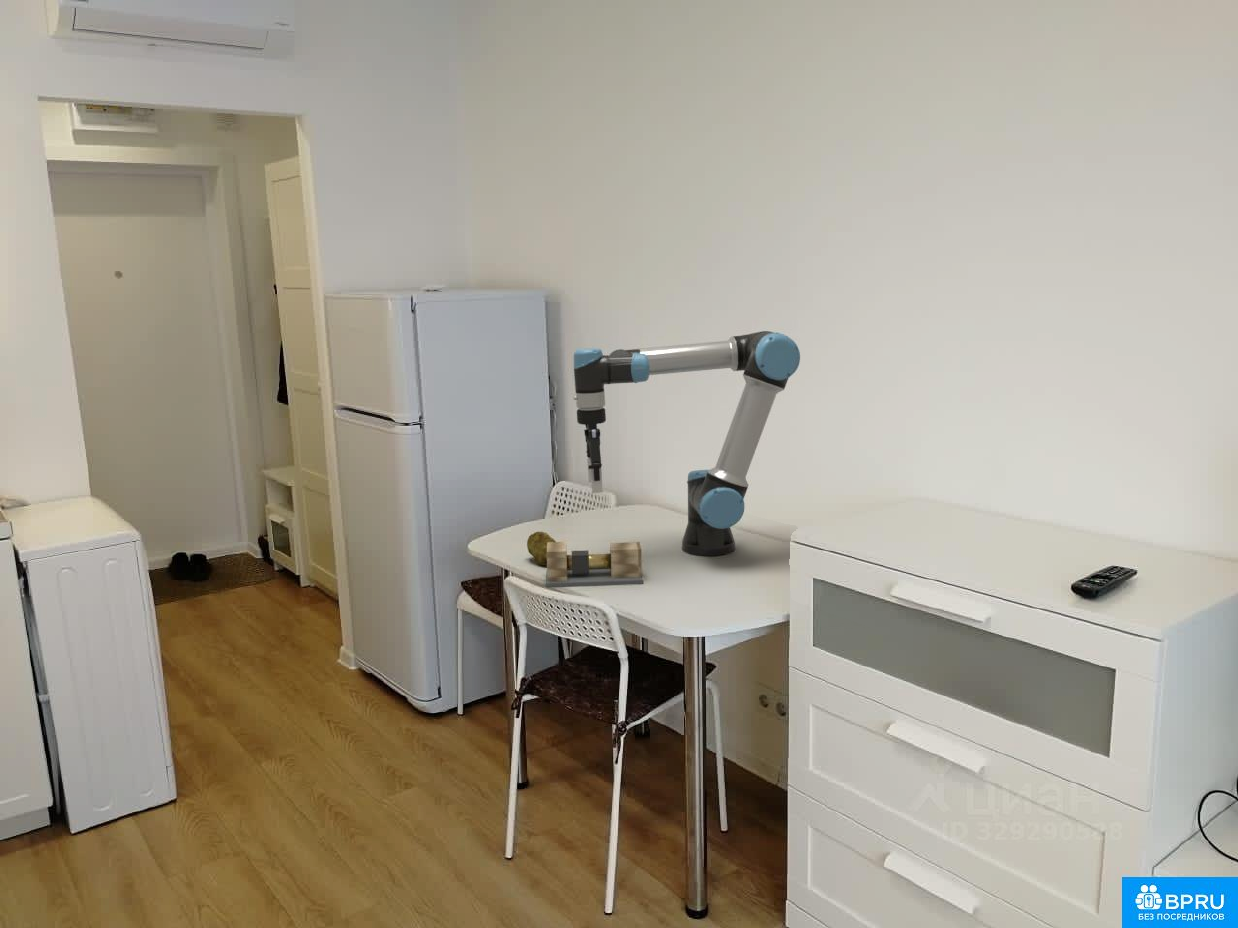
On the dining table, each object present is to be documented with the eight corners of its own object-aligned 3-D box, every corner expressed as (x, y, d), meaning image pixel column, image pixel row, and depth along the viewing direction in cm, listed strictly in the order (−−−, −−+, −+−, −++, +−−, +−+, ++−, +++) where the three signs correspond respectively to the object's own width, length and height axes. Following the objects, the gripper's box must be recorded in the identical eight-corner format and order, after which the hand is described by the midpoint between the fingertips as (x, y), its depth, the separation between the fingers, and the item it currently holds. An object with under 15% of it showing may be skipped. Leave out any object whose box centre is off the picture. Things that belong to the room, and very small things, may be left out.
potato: (534, 570, 263) (533, 541, 262) (525, 557, 276) (524, 530, 274) (564, 567, 266) (563, 539, 264) (554, 554, 278) (553, 527, 276)
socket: (567, 570, 259) (566, 541, 258) (567, 580, 251) (566, 551, 249) (548, 571, 259) (547, 542, 258) (547, 581, 250) (546, 551, 249)
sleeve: (639, 569, 259) (639, 541, 258) (641, 577, 252) (641, 549, 251) (610, 570, 259) (609, 542, 258) (611, 578, 252) (611, 550, 251)
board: (640, 569, 262) (639, 566, 262) (643, 583, 250) (643, 580, 250) (546, 573, 261) (546, 569, 261) (545, 587, 249) (545, 583, 249)
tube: (618, 567, 258) (617, 549, 257) (619, 572, 253) (618, 554, 252) (553, 569, 257) (553, 551, 256) (553, 574, 253) (552, 556, 252)
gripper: (574, 402, 267) (579, 478, 272) (579, 415, 243) (584, 498, 247) (601, 401, 268) (605, 476, 272) (609, 413, 244) (613, 496, 248)
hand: (595, 487), depth 260 cm, fingers open, 13 cm apart
